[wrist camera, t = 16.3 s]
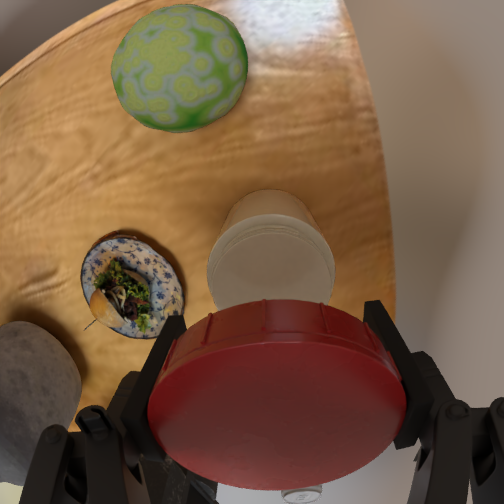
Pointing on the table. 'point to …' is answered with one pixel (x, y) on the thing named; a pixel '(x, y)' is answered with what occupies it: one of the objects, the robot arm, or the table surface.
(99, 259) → the plate of food
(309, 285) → the jar
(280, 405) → the jar lid
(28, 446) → the vase
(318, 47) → the table surface
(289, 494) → the beverage can
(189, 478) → the lantern
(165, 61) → the decorative ball
